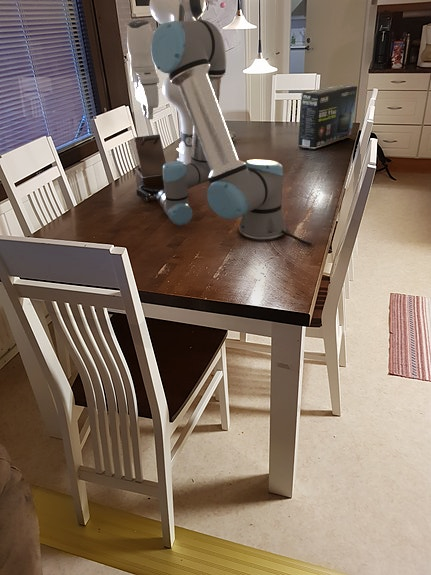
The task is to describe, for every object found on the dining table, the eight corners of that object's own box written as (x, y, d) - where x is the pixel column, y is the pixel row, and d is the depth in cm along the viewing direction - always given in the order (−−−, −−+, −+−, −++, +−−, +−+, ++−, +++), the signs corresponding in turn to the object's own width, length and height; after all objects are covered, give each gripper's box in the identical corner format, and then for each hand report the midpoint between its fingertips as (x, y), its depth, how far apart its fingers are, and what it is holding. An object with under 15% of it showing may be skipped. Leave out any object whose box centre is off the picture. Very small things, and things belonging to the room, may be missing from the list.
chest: (137, 191, 189) (134, 168, 184) (160, 187, 192) (158, 164, 187) (145, 202, 178) (142, 177, 173) (170, 198, 181) (167, 174, 176)
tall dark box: (133, 138, 172) (136, 130, 164) (159, 134, 175) (163, 127, 167) (142, 176, 173) (145, 171, 165) (167, 173, 176) (171, 167, 168)
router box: (314, 151, 231) (318, 94, 217) (296, 148, 237) (299, 92, 224) (352, 138, 251) (358, 85, 238) (335, 135, 258) (340, 83, 245)
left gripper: (128, 72, 164) (133, 113, 172) (141, 79, 148) (146, 123, 155) (146, 71, 166) (150, 111, 173) (160, 77, 150) (164, 121, 157)
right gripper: (139, 216, 159) (127, 196, 177) (200, 206, 165) (182, 187, 183) (136, 195, 155) (124, 177, 173) (199, 186, 161) (181, 169, 180)
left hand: (148, 117), depth 164 cm, fingers open, 4 cm apart
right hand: (154, 182), depth 178 cm, fingers closed on chest, 10 cm apart
